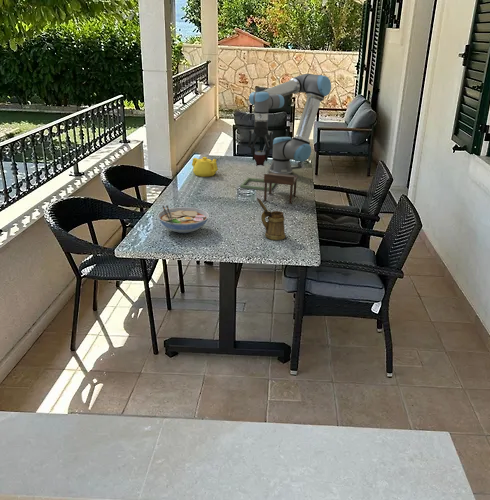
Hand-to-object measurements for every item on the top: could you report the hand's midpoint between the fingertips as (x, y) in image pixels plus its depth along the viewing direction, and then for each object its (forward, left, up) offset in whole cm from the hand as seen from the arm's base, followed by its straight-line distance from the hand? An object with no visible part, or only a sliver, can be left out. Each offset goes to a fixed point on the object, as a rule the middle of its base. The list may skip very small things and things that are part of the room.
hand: (260, 160), depth 297 cm
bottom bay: (0, 0, -15) cm, 15 cm away
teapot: (-14, -37, -15) cm, 43 cm away
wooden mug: (+80, +23, -15) cm, 85 cm away
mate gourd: (0, 0, -3) cm, 3 cm away
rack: (+22, +17, -15) cm, 32 cm away
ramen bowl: (+85, -16, -15) cm, 88 cm away
